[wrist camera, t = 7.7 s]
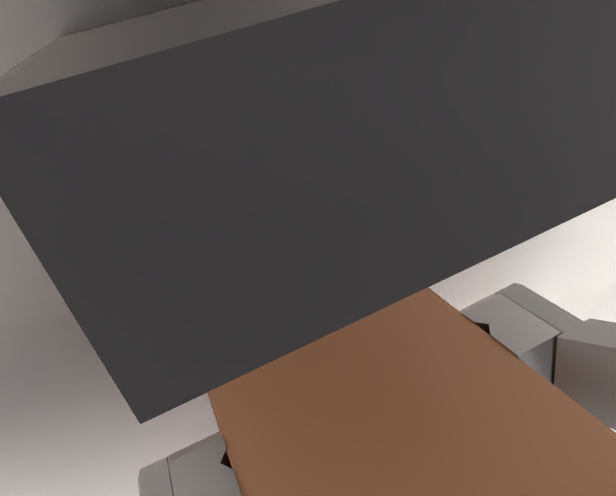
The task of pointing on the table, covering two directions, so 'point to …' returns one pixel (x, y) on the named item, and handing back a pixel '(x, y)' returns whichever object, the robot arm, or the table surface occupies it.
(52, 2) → the table surface
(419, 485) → the tile
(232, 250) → the tile
